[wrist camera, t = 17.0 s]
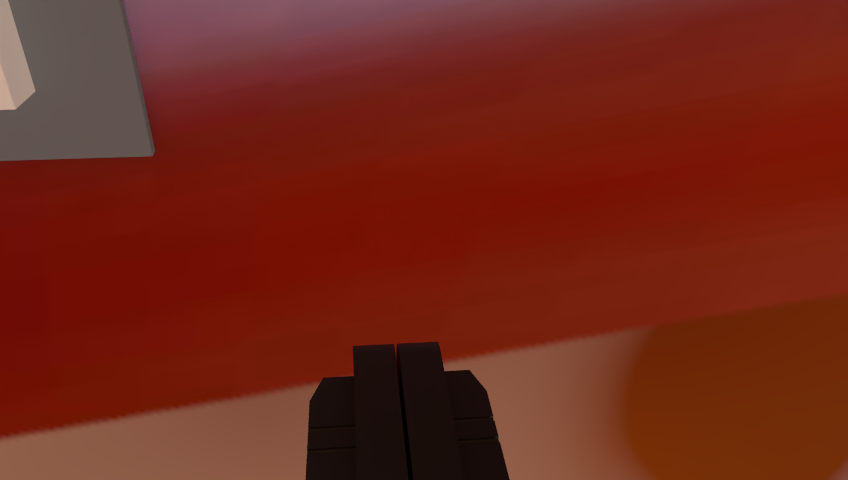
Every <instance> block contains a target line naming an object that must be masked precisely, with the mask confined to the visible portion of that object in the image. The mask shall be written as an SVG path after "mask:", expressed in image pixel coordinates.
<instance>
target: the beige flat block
mask: <svg viewBox="0 0 848 480" xmlns="http://www.w3.org/2000/svg"><path fill="white" fill-rule="evenodd" d="M34 92H35V88H34V84H33V81H32V78H31V74H30V71H29V68H28V65H27V61H26V58H25V55H24V51H23V48H22V45H21V41H20V38H19V35H18V31H17V28H16V25H15V22H14V18H13V15H12V12H11V8H10V5H9V2H8V0H0V110H15V109H17V108H18V107H19V106H20V105H21V104H22V103H23V102H24V101H25V100H27V99H28V98H29V97H30V96H31V95H32V94H33V93H34Z"/></svg>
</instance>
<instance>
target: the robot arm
mask: <svg viewBox="0 0 848 480" xmlns="http://www.w3.org/2000/svg"><path fill="white" fill-rule="evenodd" d="M353 363H354V376H350V377H331V378H323V379H322V381H321V383H320V384H319V386H318V388H317V389H316V391H315V393H314V395H313V396H312V398H311V400H310V405H309V425H308V427H309V429H308V431H309V432H308V446H307V465H306V480H509V476H508V472H507V468H506V464H505V460H504V457H503V452H502V449H501V445H500V442H499V440H498V433H497V429H496V425H495V421H493V414H492V410H491V406H490V402H489V398H488V394H487V391H486V390H485V388H484V387H483V386H482V385H481V384H480V382H479V381H478V380H477V379H476V377H475V376H474V375H473V374H472V373H471V371H470V370H461V371H444V367H443V362H442V357H441V351H440V346H439V343H438V342H423V343H402V344H397V350H396V356H395V347H394V344H385V345H364V346H353Z"/></svg>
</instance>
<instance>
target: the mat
mask: <svg viewBox="0 0 848 480" xmlns="http://www.w3.org/2000/svg"><path fill="white" fill-rule="evenodd" d="M8 2H9V5H10V8H11V12H12V15H13V18H14V22H15V25H16V28H17V31H18V35H19V38H20V41H21V45H22V48H23V51H24V55H25V58H26V61H27V65H28V68H29V71H30V74H31V78H32V81H33V84H34V88H35V92H34V93H33V94H32V95H31V96H30V97H29V98H28V99H27V100H25V101H24V102H23V103H22V104H21V105H20V106H19V107H18V108H17V109H15V110H0V161H9V160H42V159H75V158H107V157H140V156H153V154H154V152H155V148H154V144H153V139H152V134H151V130H150V125H149V120H148V115H147V111H146V106H145V101H144V97H143V92H142V87H141V83H140V78H139V73H138V68H137V64H136V59H135V54H134V50H133V45H132V40H131V35H130V31H129V26H128V21H127V17H126V12H125V7H124V3H123V0H8Z"/></svg>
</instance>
